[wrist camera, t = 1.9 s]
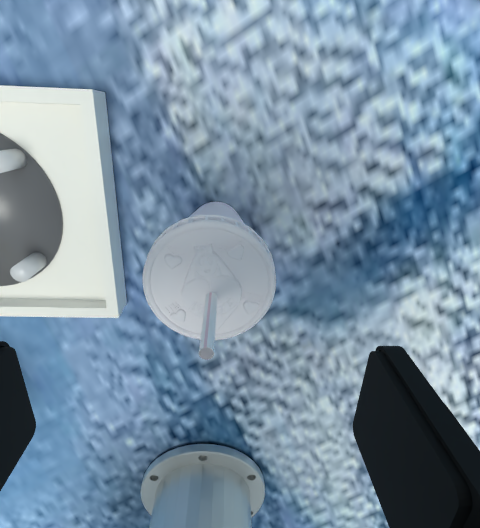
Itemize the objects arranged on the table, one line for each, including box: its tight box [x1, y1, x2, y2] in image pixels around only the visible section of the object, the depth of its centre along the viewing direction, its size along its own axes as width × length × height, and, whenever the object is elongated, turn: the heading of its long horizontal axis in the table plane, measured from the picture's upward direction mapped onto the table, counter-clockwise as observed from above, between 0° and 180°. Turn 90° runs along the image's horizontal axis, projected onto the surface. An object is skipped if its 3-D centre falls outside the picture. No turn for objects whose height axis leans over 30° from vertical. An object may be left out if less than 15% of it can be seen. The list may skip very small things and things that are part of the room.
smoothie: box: [143, 202, 276, 360], centre depth 19 cm, size 6×6×14 cm
